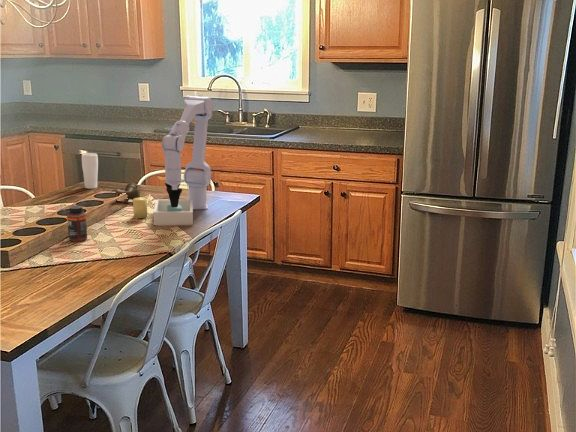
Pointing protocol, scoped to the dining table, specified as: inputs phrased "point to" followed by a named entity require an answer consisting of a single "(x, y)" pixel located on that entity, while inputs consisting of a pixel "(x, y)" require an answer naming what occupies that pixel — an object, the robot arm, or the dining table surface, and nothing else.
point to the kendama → (130, 191)
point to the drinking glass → (90, 169)
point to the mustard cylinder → (140, 207)
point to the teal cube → (174, 208)
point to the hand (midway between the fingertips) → (173, 204)
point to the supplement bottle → (77, 224)
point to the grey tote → (173, 213)
